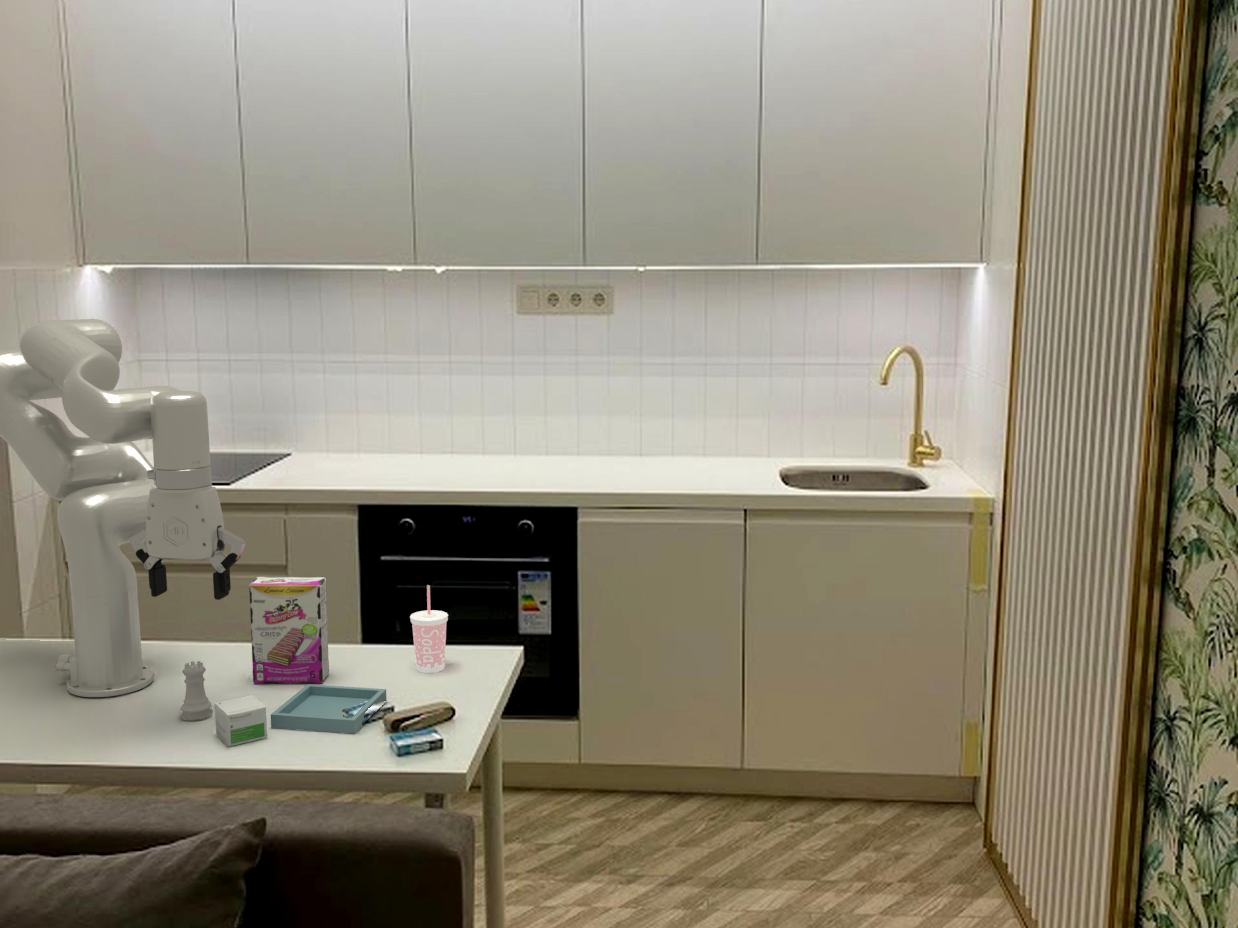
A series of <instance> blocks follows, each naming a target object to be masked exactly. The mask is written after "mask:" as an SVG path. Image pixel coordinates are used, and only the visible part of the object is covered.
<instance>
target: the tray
mask: <svg viewBox="0 0 1238 928" xmlns="http://www.w3.org/2000/svg"><path fill="white" fill-rule="evenodd" d="M365 701H368V702H367V703H366V704H365V705H364V706H363V707H362V708H361V709H360V710H359V711H358V712H357V713H356V714H355V715H354V716H353V717H352V718H345V717H343V714H342V710H343V709H344V708H347V707H353V706H354V705H358V704H360V703H364V702H365ZM376 701H387V689H386V688H373V687H358V686H356V687H355V686H341V685H325V684H314V683H306V685H304V687H302V688H301V689H300V690H298V691H297V692H296V693H295V694H294V695H293V696H291V697H290V698H289V699H288V700H286V701H285V702H284V703H283V704H281V705H280V706H279V707H278V708H277V709H275V710H274V711H273V712H272V713H271V714H270V728H271V729H281V730H282V729H283V730H295V731H296V730H297V731H310V732H322V733H323V732H324V733H325V732H326V733H336V734H337V733H338V734H339V733H340V734H351V735H355V734H356V733H357V732H358V731H360V729H361V728H362V727H363V726H362V721H363V718H364V714H365V712H366V711H367V710H368V708H370V707H371V706H372V705H373V704H374V703H375V702H376Z"/></svg>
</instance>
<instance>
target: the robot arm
mask: <svg viewBox="0 0 1238 928" xmlns="http://www.w3.org/2000/svg"><path fill="white" fill-rule="evenodd" d="M122 355H123V344H122V340H121V337H120V335H119V333H118V331H117V330H116V328H114V327H113V325H111V324H110V323H108V322H107V321H104V320H102V319H99V318H98V319H97V318H86V319H85V318H82V319H79V318H77V319H56V320H53V319H52V320H45V321H41V322H38V323H35V324H33V325H31V326H30V327H28V328H27V329H26V330H25V331H24V333H23V334H22V336H21V339H20V342H19V347H16V348H6V349H0V438H1V439H2V440H3V441H4V442H6V443H7V444H8V445H9V446H10V447H11V448H12V450H13V451H14V453H16V455H17V456H18V458H19V459H20V461H21V462H22V464H23V466H25V468H26V470H28V472H29V474H31V476H32V478H33V480H35V482H36V483H37V484H38V486H39V487H40V488H41V489H42V490H43V491H44V493H45V494H46V495H48V496H49V497H50V498H52V499H53V500H57V501H61V502H60V503H59V506H58V509H57V517H56V518H57V525H58V529H59V532H60V536H61V539H62V542H63V546H64V549H65V555H66V559H67V566H68V576H69V578H68V579H69V588H70V589H69V590H70V599H71V601H70V602H71V611H72V624H73V625H72V628H73V636H74V637H73V638H74V640H73V641H74V652H75V655H73V654H59V656H58V658H57V663H56V664H55V670H56V671H58V672H69V673H70V677H69V679H68V680H66V689H67V690H66V691H68V692H69V693H70V694H72V695H74V696H78V697H83V698H108V697H116V696H121V695H126V694H130V693H133V692H135V691H138V690H141V689H143V688H146V687H147V686H149V685H150V684H152V682H154V680H155V679H154V678H155V673H154V670H153V669H152V668H151V667H148V666H146V665H143V653H142V652H143V651H142V642H141V641H142V639H141V626H140V625H141V623H140V610H139V609H140V608H139V607H140V606H139V598H138V594H139V593H138V579H137V573H136V570H135V567H134V565H133V564H132V562H131V561H130V560H129V559H128V557H126V555H125V553H123V552H122V551H121V548H120V547H121V546H122V545H125V544H129V543H130V545H131V548H132V549H133V551H134V552H135V557H136V558H137V559H139V561H141V562H142V564H143V567H144V569H145V570H148V583H149V584H148V585H149V586H148V587H149V589H150V592H151V593H150V594H151V597H154V598H157V597H159V596H160V595H163V594H164V593H167V591H168V582H167V581H168V580H167V568H166V565H165V564H163V562H164V561H165V560H169V561H170V560H171V561H173V560H174V561H190V562H191V561H193V562H194V561H195V562H200V561H202V562H203V561H208V562H209V563H210V564H211V565H212V567H213V568H214V569H215V570H216V571H215V572H213V573H212V580H213V581H212V583H213V597H214V599H215V600H218V601H220V600H222V599H224V598H225V597H227V596H229V594H230V591H231V590H232V589H231V571H230V569H232V568H233V566H234V565H235V564H236V562H237V563H238V560H239V559H241V555H242V553H243V551H244V549H245V546H246V544H247V542H246V540H245V539H243V538H242V537H240V536H238V535H236V534H235V533H232V532H231V531H229V530H227V529H225V523H224V515H223V510H222V506H221V502H220V497H219V494H218V491H217V488H216V486H212V485H213V483H212V471H211V469H212V468H211V467H212V466H211V452H210V435H209V434H210V433H209V432H210V431H209V417H208V415H209V414H208V401H207V399H206V397H205V395H204V394H203V393H201V392H199V391H193V390H180V389H179V388H177V387H174V386H168V385H156V386H145V387H142V386H141V387H133V388H131V387H130V388H120V389H115V388H116V387H117V386H118V385H117V384H118V382H119V379H120V376H121V373H120V372H121V371H120V365H119V363H120V361H121V359H122ZM58 398H61V401H62V406H63V409H64V412H65V414H66V417H67V419H68V420H69V422H70V423H71V425H73V426H74V427H75V428H77V429H78V430H79V431H81V432H82V433H83V434H85V435H86V436H87V437H83V436H77V435H75V434H74V433H73V432H72V431H71V430H70V429H69V428H68V426H67V425H66V423H65V422H64V421H63V420H62V419H61V418H60V417H59V415H57V414H55V413H54V412H53V411H51V410H49V409H47V408H46V407H43V406H41V405H39V404H37V403H35V402H33V401H36V400H37V401H39V400H47V399H49V400H50V399H58ZM144 440H146V441H147V440H152V443H151V444H152V455H153V464H152V463H151V462H150V460H148V458H147V457H146V455H144V454H145V453H143V452H142V450H141V449H140V448H139V447H138V446H137V445H136V444H135V443H134V442H137V441H144ZM226 544H228V545H229V546H230V552H229V554H228V555H227V553H225V549H226Z"/></svg>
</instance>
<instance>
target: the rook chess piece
mask: <svg viewBox="0 0 1238 928" xmlns="http://www.w3.org/2000/svg"><path fill="white" fill-rule="evenodd" d="M206 670H207V669H206V667H205V666H204V664H203V662H201V660H200V661H199V660H198V661H196V663H195V661H190V662H186V663H185V664H184V668H183V670H182V671H181V672H182V674H183V675H184V676H185V680H184V684H185V697H184V700H183V701H182V702H183V703H182V705H181V706H180V711H181V714H180V717H181V718H182V720H184V721H187V722H198V721H203V720H206V719H209V718H210V717H211V716H212V714H213V710H212V709H211V708H212V707H213V705H212V702H211V701H210V700H209V698H208V696H207V694H206V690H205V685H204V682H205V680H206V679H205V677H204V673H205V672H206Z"/></svg>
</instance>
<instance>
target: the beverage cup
mask: <svg viewBox="0 0 1238 928" xmlns="http://www.w3.org/2000/svg"><path fill="white" fill-rule="evenodd" d="M426 597H427V598H426V602H427V607H426V608H427V609H426V610H420V611H416V612H413V613H411V614H410V616H409V619H410V623H411V624H412V625H411V627H412V637H413V639H412V640H413V646H414V647H413V648H414V658H415V659H414V661H415V670H416V671H417V672H418V673H423V674H434V673H438V672H441V671H443V670H445V665H446V643H447V642H446V641H447V622H448V620H449V614H448V612H445V611H443V610H436V609H435V610H434V609H432V610H431V585H429V584H427V585H426Z"/></svg>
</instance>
